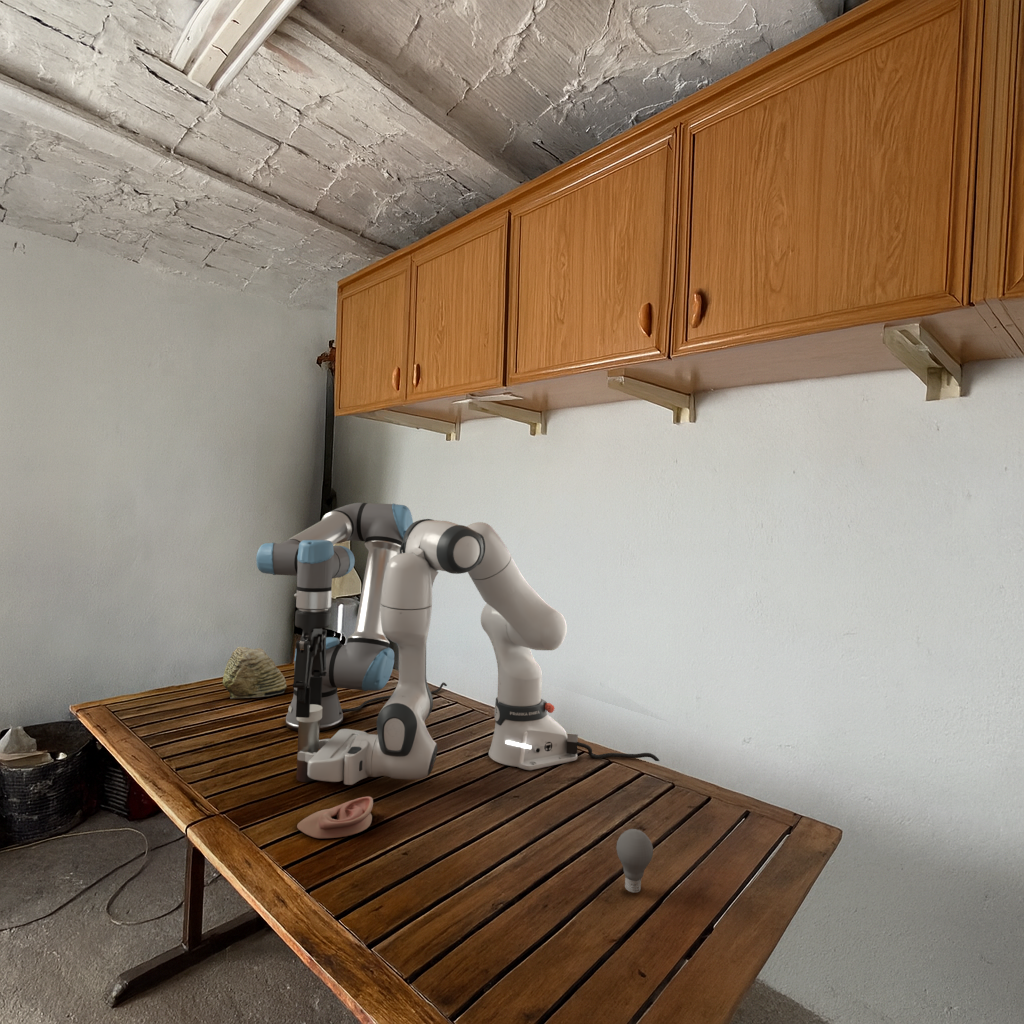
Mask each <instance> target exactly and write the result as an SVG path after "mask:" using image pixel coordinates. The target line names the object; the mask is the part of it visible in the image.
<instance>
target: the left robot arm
mask: <svg viewBox="0 0 1024 1024" xmlns="http://www.w3.org/2000/svg"><path fill="white" fill-rule="evenodd" d="M412 523H414V519H413V515H412V512H411V509H410V508H409V507H408V506H407V505H405V504H396V503H378V502H377V503H375V502H354V503H350V504H349V503H348V504H346V505H343V506H340V507H337V508H335V509H332V510H330V511H329V512H327V513H325V514H324V515H323V516H322V518H321V520H319V521H318V522H316V523H315V524H313V525H311V526H309V527H308V528H305V529H304V530H302V531H300V532H299V533H297V534H295V535H293V536H291V537H289V538H287V539H286V540H284V541H281V542H279V543H277V542H265V543H263V544H261V545H260V546H259V548H258V549H257V551H256V557H255V559H256V567H257V569H258V571H260V573H262V574H265V575H273V576H290V577H291V576H295V577H296V582H297V583H296V592H295V593H294V594H293V596H294V598H295V599H296V600H295V608H297V609H296V611H295V614H294V615H295V617H294V625H295V627H296V628H298V629H301V630H302V633H301V636H300V640H296V642H295V652H294V653H295V654H294V659H293V661H294V672H293V684H292V688H293V695H292V696H293V697H292V699H291V702H290V704H289V705H288V711H287V713H286V715H285V726H286V728H287V729H289V730H291V731H294V732H295V731H296V732H298V726H299V721H298V720H297V719H296V717H303V718H309V715H310V704H315V705H320V706H322V719H320V724H319V732H325V731H329V730H332V729H335V728H337V727H339V726H340V725H342V723H343V722H344V714H343V712H345V713H346V712H356V711H359V710H360V709H362V708H364V706H365V705H367V704H369V703H372V702H376V701H380V700H385V699H390V697H391V696H392V694H391V695H383V696H379V697H373V698H371V699H367V700H366V701H364V702H362V703H361V704H360V705H358V706H357V707H353V708H342V706H341V702H340V699H339V695H338V689H346V690H357V691H364V692H368V691H370V692H371V691H373V692H374V691H375V692H377V691H381V690H382V689H384V687H385V686H386V685H387V684H388V682H389V681H390V678H391V675H392V673H393V670H394V666H395V665H394V664H395V652H394V650H393V649H392V648H391V647H390V640H389V639H388V638H387V637H386V636H385V635H384V633H383V631H382V625H381V615H380V610H381V594H382V586H383V580H384V575H385V571H386V567H387V564H388V562H389V560H390V559H391V558H392V557H394V556H396V555H398V554H400V547H401V545H402V542H403V537H404V535H405V532H406V530H407V529H408V527H409V526H410V525H411V524H412ZM347 541H352V542H355V541H356V542H364V547H365V549H367V551H368V554H367V559H366V565H365V569H364V575H363V581H362V586H361V587H362V589H361V593H360V598H359V604H358V610H357V616H356V621H355V627H354V632H353V633H351V634H350V635H349V636H348V637H347V641H346V644H341V641H340V639H339V638H338V637H334V636H327V633H328V631H327V628H329V627H330V625H331V610H330V608H331V607H332V593H333V591H332V588H333V587H332V586H333V579H340V578H343V577H344V576H346V575H348V574H350V573H351V571H352V570H353V569H354V567H355V562H356V561H355V556H354V555H355V554H354V553H353V552H352V550H351V549H350V548H348V547H346V546H344V545H337V544H342V543H345V542H347ZM402 553H403V551H402ZM443 687H448V684H447V683H446V682H442V683H441V684H440V685H439V687H438V688H437V689H435V690H432V691H431V690H430V692H431V695H432V694H436V693H439V691H441V690H442V688H443Z"/></svg>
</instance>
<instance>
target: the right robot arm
mask: <svg viewBox="0 0 1024 1024" xmlns="http://www.w3.org/2000/svg"><path fill="white" fill-rule="evenodd" d="M402 551H403V552H402ZM439 571H440V572H441V571H442V572H447V573H449V574H453V575H454V574H455V575H458V574H459V575H460V574H466V573H467V574H468V575H469V578H470V579H471V582H472V583H473V584H474V587H475V588H476V590H477V591H478V593H479V595H480V596H481V598H482V600H483V601H484V602H485V603H486V604H484V606H483V608H482V611H481V613H480V625H481V628H482V630H483V631H484V632H485V633H486V635H487V636H488V638H489V640H490V643H491V645H492V649H493V652H494V655H495V660H496V665H497V695H496V696H497V697H496V698H495V704H494V715H493V716H494V722H495V723H494V730H493V735H492V740H491V743H490V747H489V750H488V752H487V753H488V756H489V758H490V759H491V760H492V761H494V762H496V763H499V764H502V765H505V766H508V767H509V766H510V767H517V768H519V769H522V770H526V771H534V770H538V769H543V768H548V767H551V766H556V765H560V764H565V763H571V762H574V761H577V760H578V747H580V748H584V749H585V750H587V753H588V754H587V755H588V756H589V757H590V758H592V759H596V760H598V759H606V758H607V759H608V758H621V759H622V758H623V759H641V758H642V759H643V758H651V759H652V760H654V761H655V762H660V758H658V757H657V756H656V755H655V754H653V753H651V752H640V753H623V752H608V753H602V754H594V753H593V748H592V747H591V746H590V745H588V744H586V743H583V742H580V741H579V740H578V739H579V737H578V736H579V735H578V734H577V733H568V732H567V731H566V729H565V728H564V727H563V726H562V725H561V724H560V723H559V722H558V721H557V720H555V719H554V718H553V717H552V716H551V715H549V714H552V713H554V711H555V709H556V708H555V706H554V705H553V704H552V703H550V702H548V701H546V700H544V699H542V687H543V686H542V685H543V671H542V668H541V666H540V664H539V663H538V662H537V660H536V659H535V657H534V655H533V654H532V653H533V652H532V650H534V651H554V650H557V649H559V647H561V646H562V644H563V643H564V641H565V639H566V637H567V634H568V633H567V631H568V625H567V621H566V618H565V616H564V615H563V613H561V612H560V611H558V610H557V609H556V608H554V607H553V606H551V605H550V604H549V603H547V602H546V601H545V599H544V598H542V597H541V596H540V595H539V593H538V592H537V591H536V590H535V589H534V587H532V586H531V585H530V584H529V582H528V581H527V580H526V578H525V577H524V576H523V574H522V572H521V571H520V569H519V567H518V565H517V563H516V561H515V560H514V558H513V556H512V554H511V551H509V549H508V547H507V545H506V544H505V542H504V541H503V540H502V537H501V536H499V534H498V533H497V532H496V531H495V529H494V528H493V527H492V525H490V524H488V523H486V522H481V521H478V522H472V523H470V524H468V525H467V526H466V525H462V524H458V523H455V522H452V521H448V520H435V519H431V518H423V519H419V520H416V521H413V523H412V524H411V525H410V526H409V527H408V529H407V530H406V532H405V535H404V537H403V542H402V545H401V547H400V554H398V555H396V556H394V557H392V558H391V559H390V560H389V562H388V564H387V567H386V571H385V575H384V580H383V586H382V594H381V610H380V615H381V625H382V631H383V633H384V635H385V636H386V638H387V640H388V641H391V642H392V643H394V644H396V646H397V649H398V681H397V685H396V686H395V688H394V690H393V692H392V693H391V695H392V696H391V697H390V698H388V700H387V701H386V702H385V703H384V705H383V706H382V707H381V708H380V710H379V713H378V714H377V718H376V733H377V734H373V733H368V732H366V731H363V730H359V729H351V728H341V729H339V730H338V731H337V732H336V733H334V735H333V736H332V737H331V738H323V739H319V750H318V752H317V753H315V752H314V753H309V752H308V750H301V751H300V752H299V753H298V756H296V760H297V759H298V760H299V761H305V762H307V763H308V772H307V774H308V777H310V778H311V779H314V780H313V781H320V782H329V783H339V782H343V785H347V786H353V785H354V784H357V782H359V781H361V780H364V779H367V778H379V777H388V778H390V779H392V780H408V781H409V780H421V779H425V778H427V777H429V776H430V775H431V773H432V771H433V770H434V767H435V762H436V759H437V756H438V743H437V742H436V741H435V740H434V739H433V738H432V736H431V734H430V733H429V730H428V728H427V726H426V722H425V721H426V720H427V719H428V718H429V717H430V715H431V714H432V711H433V707H434V699H433V698H434V697H433V695H432V694H431V689H430V686H429V684H428V680H427V641H428V635H429V630H430V627H431V620H432V612H433V586H434V582H435V579H436V577H437V576H438V574H439Z"/></svg>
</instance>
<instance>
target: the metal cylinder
mask: <svg viewBox="0 0 1024 1024" xmlns="http://www.w3.org/2000/svg"><path fill="white" fill-rule="evenodd" d="M319 724H320V720H318V721H315V722H300V721H299V726H298V731H297V753H296V755H297V756H298V753H299V752H300V751H301V750H308V752H309V753H314V752H315V753H317V752H318V751H319V750H320V749H319V740H320V731H319ZM297 756H296V757H297ZM307 772H308V763H307V762H305V761H299V760H298V759H297V758H296V781H298V782H300V783H309V782H313V781H315V780H314V779H311V778H310V777H308V774H307Z"/></svg>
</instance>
